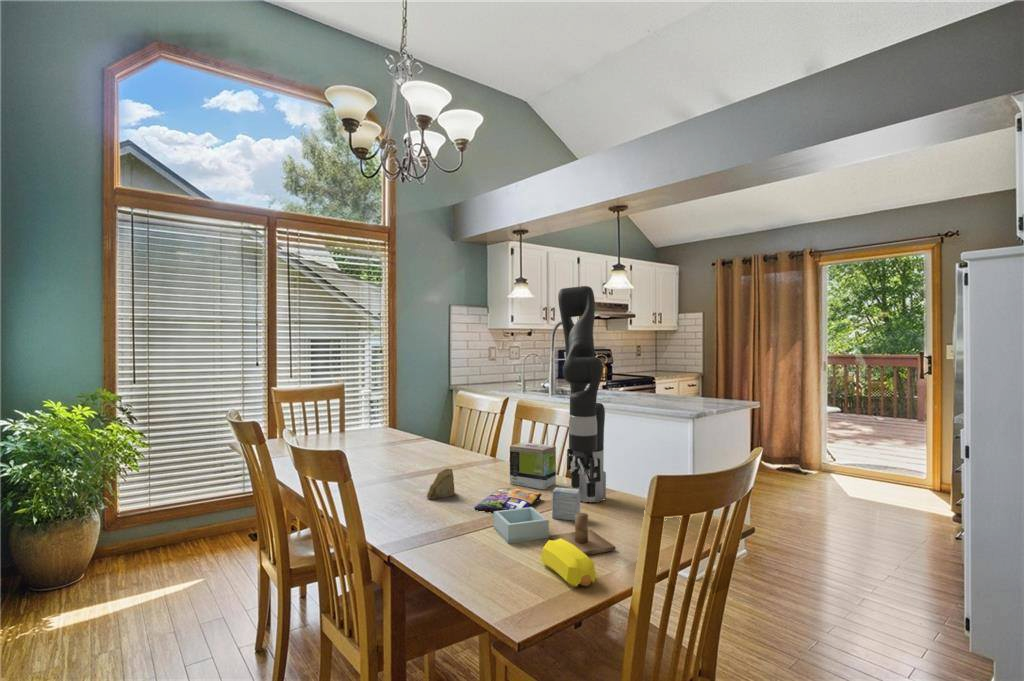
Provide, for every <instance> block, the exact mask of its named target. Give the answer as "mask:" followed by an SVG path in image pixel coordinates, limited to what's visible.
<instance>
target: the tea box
mask: <svg viewBox="0 0 1024 681" xmlns="http://www.w3.org/2000/svg"><path fill="white" fill-rule="evenodd" d="M556 447H557V446H556V445H552V444H551V445H550V444H542V443H534V442H524V441H522V442H518V443H515V444H512V445H509V484H510V485H514V486H521V487H527V488H532V489H539V490H546V489H548V488H547V487H549V486H551V485H553V484H555V485H556V482H557V480H556V479H557V476H556V475H557V455H556V454H557V453H556V452H557V451H556V450H557V448H556ZM553 486H554V485H553ZM551 487H552V486H551ZM549 488H550V487H549Z"/></svg>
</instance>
